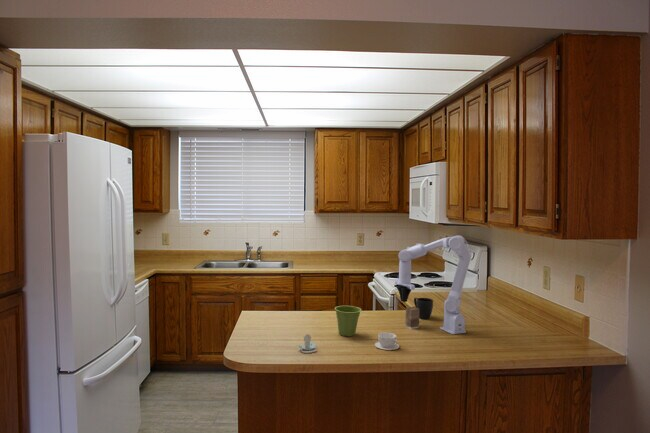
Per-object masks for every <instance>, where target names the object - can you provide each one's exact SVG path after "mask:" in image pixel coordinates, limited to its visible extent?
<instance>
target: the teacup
mask: <svg viewBox="0 0 650 433" xmlns="http://www.w3.org/2000/svg"><path fill="white" fill-rule="evenodd" d="M377 338H378V341H376V342H375V343H374V346H375V348H378V349H381V350H386V351H392V350H398V349H399V348H400V345H399V344H398V343H399V342H398V340H397V335H396V334H395V333H392V332H384V331H383V332H378V334H377Z"/></svg>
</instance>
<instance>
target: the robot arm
mask: <svg viewBox="0 0 650 433" xmlns="http://www.w3.org/2000/svg"><path fill="white" fill-rule="evenodd" d="M442 247H443V248H447V249H448V248H449V249H451V250H452V251H453V252H455V254H456V256H457V257H458V263H457V266H456V271H455V274H454V277H453V280H452V283H451V284H452V285H451V286H450V291H449V293H448V297H447V299H446V300H445V301H444V302H443V306H444V309H443V311H444V312H443V326H440V327H439V329H440V330H442V331H444V332H447V333H449V334H451V335H458V334H466V333H467V331H466V330H465V329H466V317H465V316H464V315H463V314H462V313H461V309H460V308H459V307H460V306H461V305H462V300H461V296H462V290H463V287H464V283H465V280H466V276H467V273H468V270H469V266H470V263H471V259H472V254H471V253H472V252H471V250H470V247H469V244H468V240H466V239H465V237H464V236H462V235H460V234H458V235H454V236H449V237H448V236H447V237H444V238H440V239H438V240H435V241H432V242H430V243H427V244H424V243H420V242H419V243H415V245H413V246H407V247H406V249H402V250H400V251H399V252H398V255H397V257H398V259H399V264H398V268H399V269H398V279H394V284H395V285H398V286H396V289H397V292H398V293H399V299H400V302H402V303H407V302H408V300H409V297H410V293H411V292H412V291H415V289H416V286H415V284H414V283H411V282H412V281H411V280H412V279H411V278H412V260H413V259H414V260H416V259H417V258H420V257H423V256H426V255H427V253H428V252H429V251H432V250H436V249H439V248H442Z"/></svg>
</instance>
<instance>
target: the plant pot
mask: <svg viewBox="0 0 650 433" xmlns="http://www.w3.org/2000/svg"><path fill="white" fill-rule="evenodd" d="M334 311H335V314H336V318H337V320H336V322H337V329H338V334H339V335H341V336H344V337H345V336H346V337H352V336H355V335H356V331H357V326H358V322H359V317H360V314H361V312H362V308H361V307H357V306H355V305H354V306H353V305H339V306H335V307H334Z"/></svg>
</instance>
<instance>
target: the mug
mask: <svg viewBox="0 0 650 433" xmlns="http://www.w3.org/2000/svg"><path fill="white" fill-rule="evenodd" d="M413 303H414V307H416V308H418V309H419V320H420V319H421V320H430V318H431V316H432V313H433V309H434V308H433V307H434V300H433V299H432V298H429V297H414V298H413Z"/></svg>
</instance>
